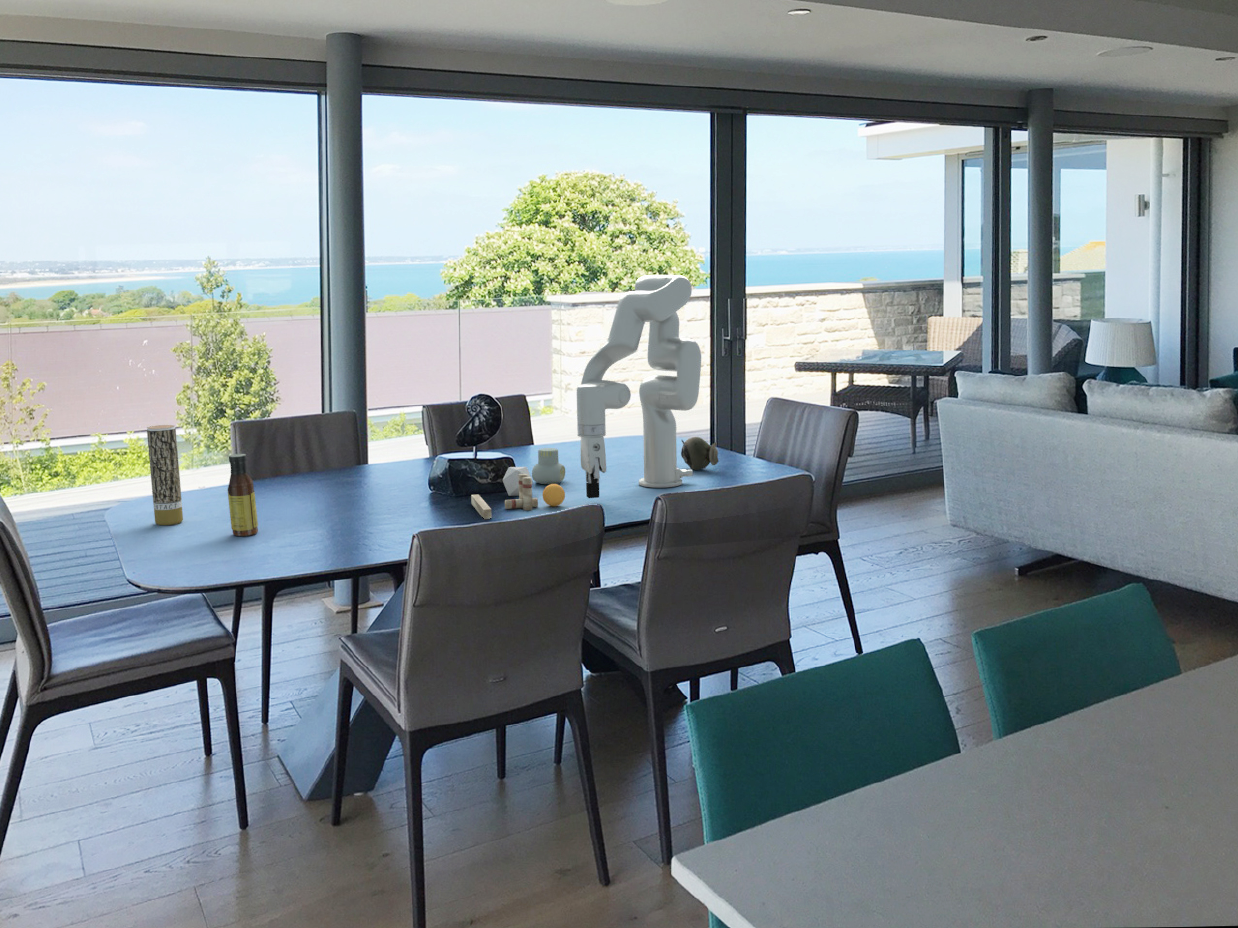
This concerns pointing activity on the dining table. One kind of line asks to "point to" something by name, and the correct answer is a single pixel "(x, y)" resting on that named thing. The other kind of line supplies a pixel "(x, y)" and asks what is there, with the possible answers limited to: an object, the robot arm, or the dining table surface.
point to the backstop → (481, 506)
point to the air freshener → (548, 467)
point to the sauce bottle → (241, 498)
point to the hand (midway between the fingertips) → (592, 497)
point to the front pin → (519, 503)
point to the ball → (553, 495)
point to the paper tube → (165, 474)
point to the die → (514, 479)
